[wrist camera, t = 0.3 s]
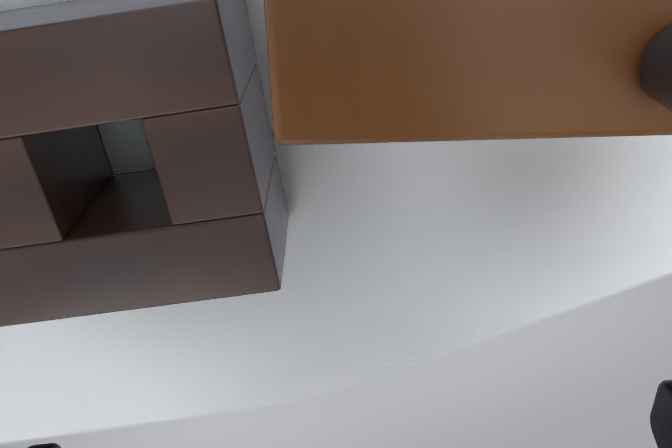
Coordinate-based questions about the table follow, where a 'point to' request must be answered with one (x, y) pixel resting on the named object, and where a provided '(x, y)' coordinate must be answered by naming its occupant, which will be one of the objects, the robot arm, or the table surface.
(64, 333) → the table surface
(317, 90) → the brown beam with peg
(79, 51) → the rack
